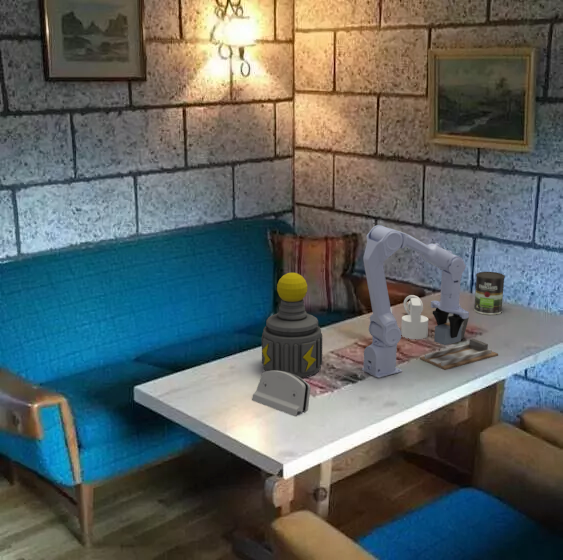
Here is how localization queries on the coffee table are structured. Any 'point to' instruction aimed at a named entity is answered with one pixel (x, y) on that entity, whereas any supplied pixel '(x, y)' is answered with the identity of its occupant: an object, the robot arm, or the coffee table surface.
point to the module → (445, 334)
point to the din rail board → (460, 355)
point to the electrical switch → (461, 325)
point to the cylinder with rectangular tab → (414, 322)
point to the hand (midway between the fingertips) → (447, 334)
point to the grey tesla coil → (292, 332)
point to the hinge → (283, 392)
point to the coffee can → (489, 293)
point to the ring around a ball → (409, 303)
